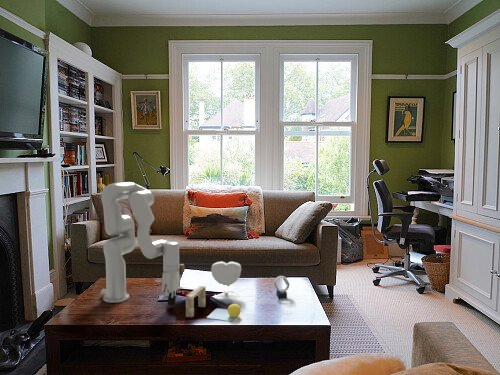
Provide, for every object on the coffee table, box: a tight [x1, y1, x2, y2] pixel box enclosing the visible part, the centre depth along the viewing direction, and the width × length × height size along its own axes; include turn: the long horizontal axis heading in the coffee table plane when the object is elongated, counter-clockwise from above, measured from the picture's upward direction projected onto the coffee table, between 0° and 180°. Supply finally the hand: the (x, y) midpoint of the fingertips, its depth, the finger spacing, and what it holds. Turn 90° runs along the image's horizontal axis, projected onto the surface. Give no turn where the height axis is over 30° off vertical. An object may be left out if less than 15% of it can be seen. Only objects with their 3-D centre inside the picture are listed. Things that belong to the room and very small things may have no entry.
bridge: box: [185, 285, 207, 318], centre depth 189 cm, size 3×15×10 cm, turn 162°
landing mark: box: [206, 307, 235, 322], centre depth 185 cm, size 12×12×1 cm
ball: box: [227, 303, 242, 319], centre depth 182 cm, size 6×6×6 cm
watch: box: [273, 275, 290, 300], centre depth 209 cm, size 6×8×11 cm
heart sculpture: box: [210, 261, 242, 299], centre depth 210 cm, size 16×5×18 cm, turn 88°
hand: (171, 304), depth 193 cm, fingers closed
